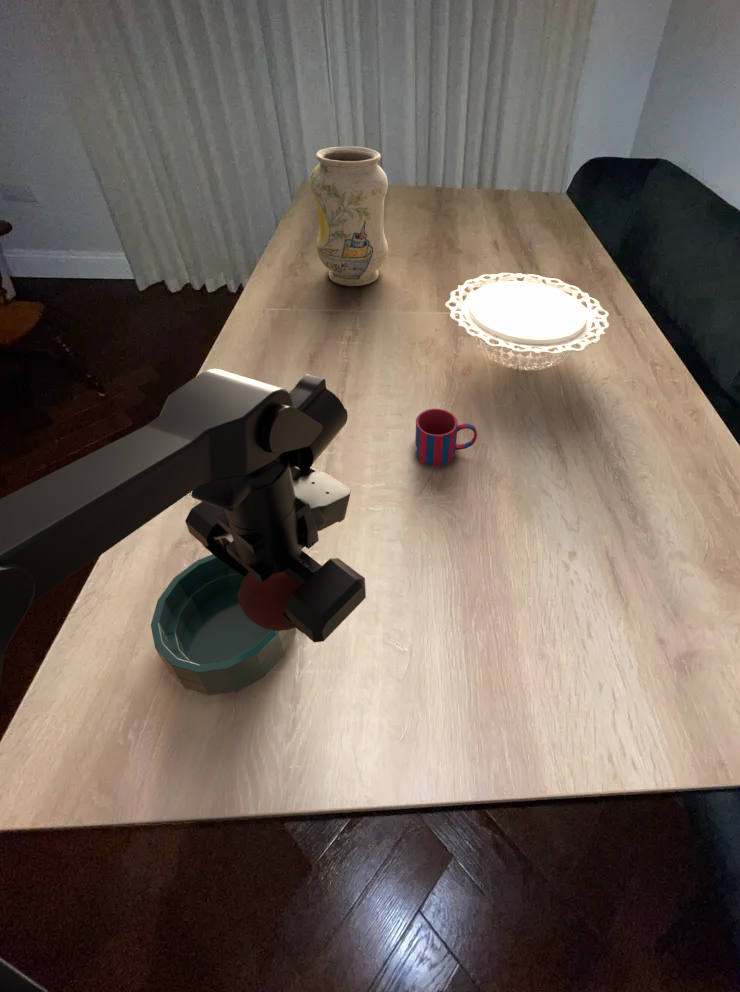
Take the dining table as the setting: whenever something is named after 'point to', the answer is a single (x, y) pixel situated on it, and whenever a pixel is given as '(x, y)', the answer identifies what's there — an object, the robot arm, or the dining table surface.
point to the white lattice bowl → (527, 319)
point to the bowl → (213, 632)
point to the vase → (350, 213)
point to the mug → (439, 437)
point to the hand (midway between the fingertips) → (284, 602)
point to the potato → (267, 600)
